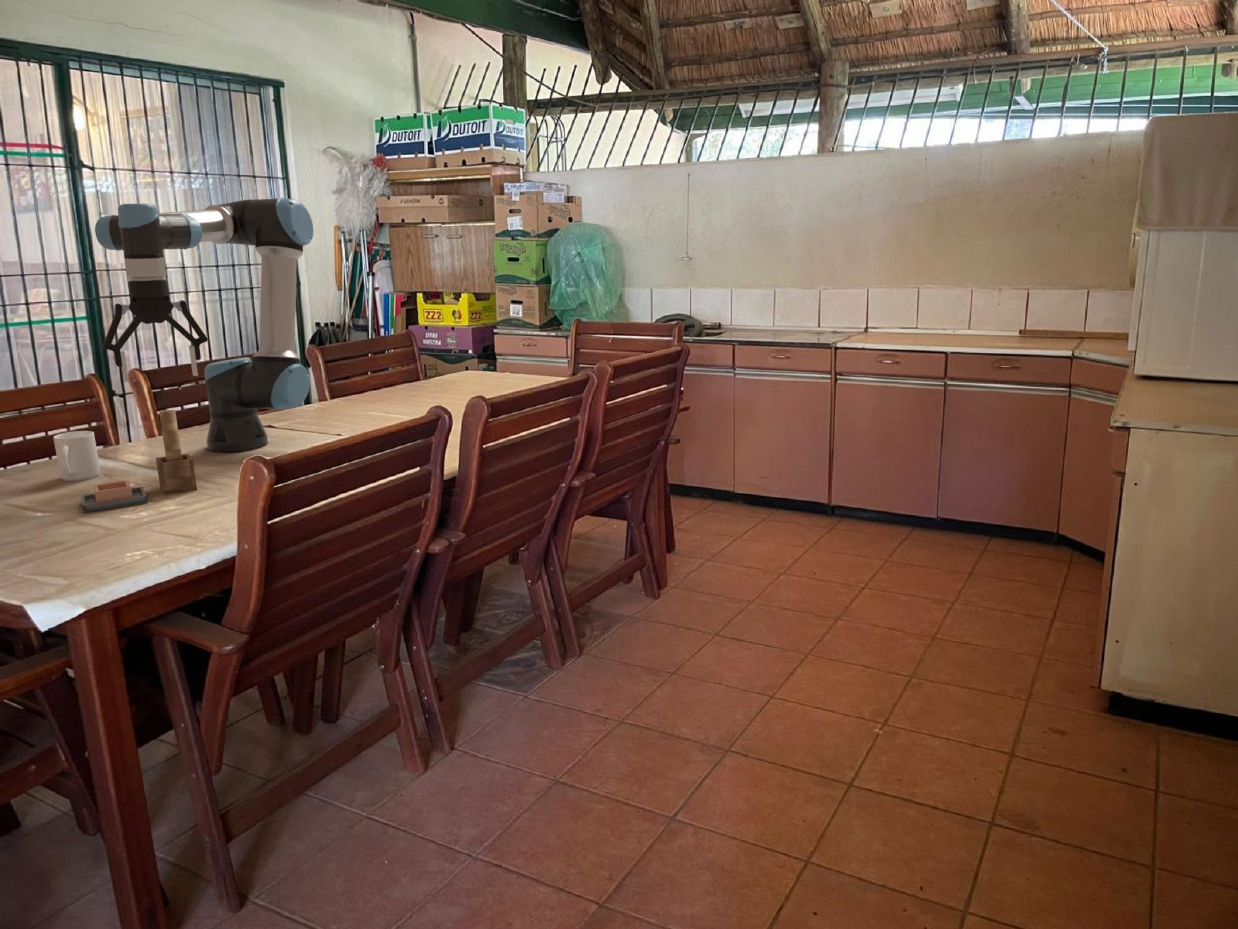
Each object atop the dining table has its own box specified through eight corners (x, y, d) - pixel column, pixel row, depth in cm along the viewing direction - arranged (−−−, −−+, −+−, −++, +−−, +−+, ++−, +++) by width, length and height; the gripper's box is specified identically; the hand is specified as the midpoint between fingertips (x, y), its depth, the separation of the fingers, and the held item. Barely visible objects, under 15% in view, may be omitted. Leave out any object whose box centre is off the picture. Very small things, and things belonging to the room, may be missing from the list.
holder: (130, 493, 202) (128, 479, 201) (133, 500, 196) (131, 486, 196) (95, 498, 199) (93, 484, 198) (97, 506, 193) (94, 492, 192)
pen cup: (192, 482, 212) (188, 453, 210) (197, 489, 206) (192, 459, 205) (160, 487, 209) (155, 457, 207) (163, 494, 203) (159, 464, 201)
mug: (85, 484, 213) (77, 441, 210) (47, 486, 212) (39, 443, 209) (106, 471, 224) (99, 430, 221) (70, 473, 223) (62, 431, 220)
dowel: (184, 482, 209) (174, 409, 205) (186, 485, 207) (175, 411, 202) (169, 484, 208) (158, 410, 203) (171, 488, 205) (159, 413, 201)
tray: (143, 493, 204) (142, 486, 204) (147, 503, 197) (146, 496, 197) (81, 502, 198) (80, 495, 198) (83, 513, 191) (82, 505, 191)
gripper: (207, 275, 205) (219, 370, 210) (79, 281, 193) (95, 381, 198) (213, 277, 199) (225, 374, 204) (80, 282, 186) (97, 386, 192)
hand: (161, 378), depth 201 cm, fingers open, 13 cm apart
